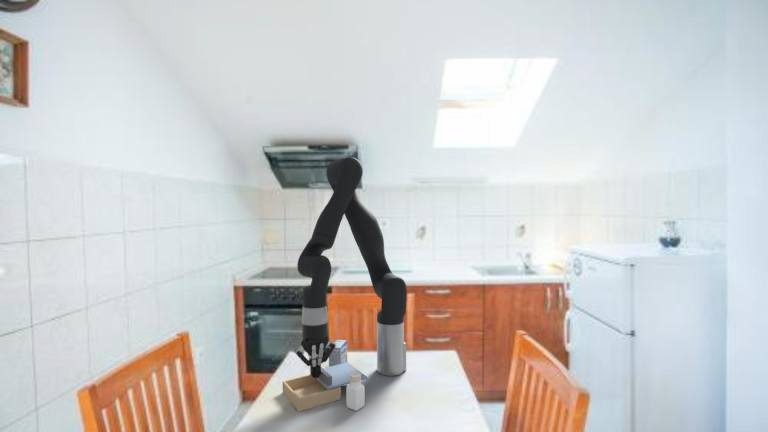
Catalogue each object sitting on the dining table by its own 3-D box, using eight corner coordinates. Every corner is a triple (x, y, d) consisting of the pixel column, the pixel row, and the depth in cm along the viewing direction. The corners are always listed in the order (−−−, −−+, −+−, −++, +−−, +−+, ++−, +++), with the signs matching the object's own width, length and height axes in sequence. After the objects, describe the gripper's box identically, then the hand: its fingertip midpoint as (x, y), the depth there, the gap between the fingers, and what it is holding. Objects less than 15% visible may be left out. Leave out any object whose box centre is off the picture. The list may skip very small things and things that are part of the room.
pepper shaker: (354, 402, 120) (354, 370, 120) (365, 406, 118) (365, 373, 118) (345, 407, 117) (345, 375, 117) (356, 412, 115) (356, 378, 114)
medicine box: (341, 373, 140) (340, 348, 140) (328, 372, 141) (328, 347, 141) (347, 363, 148) (347, 340, 148) (335, 362, 149) (335, 339, 148)
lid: (347, 364, 138) (347, 355, 138) (367, 378, 127) (367, 368, 127) (310, 373, 131) (310, 363, 131) (328, 389, 120) (328, 379, 120)
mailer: (322, 382, 133) (322, 371, 133) (341, 398, 122) (340, 387, 122) (282, 392, 126) (282, 381, 126) (298, 411, 115) (298, 399, 115)
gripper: (329, 314, 130) (330, 367, 131) (289, 321, 123) (290, 377, 124) (340, 319, 124) (340, 376, 125) (298, 327, 117) (299, 387, 118)
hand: (315, 376), depth 125 cm, fingers closed
